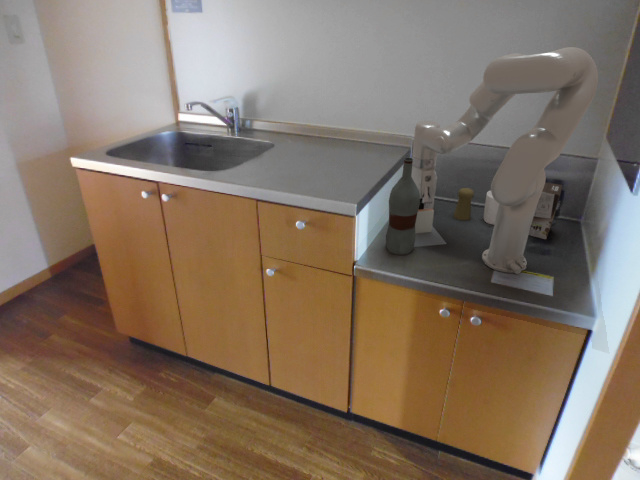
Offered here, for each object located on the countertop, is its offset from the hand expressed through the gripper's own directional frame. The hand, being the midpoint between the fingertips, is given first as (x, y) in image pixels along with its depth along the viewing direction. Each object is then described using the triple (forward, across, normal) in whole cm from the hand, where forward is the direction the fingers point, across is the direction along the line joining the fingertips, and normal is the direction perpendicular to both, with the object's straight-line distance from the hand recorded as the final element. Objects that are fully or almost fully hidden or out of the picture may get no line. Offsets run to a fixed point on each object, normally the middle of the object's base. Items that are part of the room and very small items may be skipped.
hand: (417, 212), depth 150 cm
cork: (+6, +4, -18) cm, 20 cm away
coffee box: (+6, -10, -40) cm, 41 cm away
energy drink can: (+6, +12, -7) cm, 15 cm away
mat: (+6, -6, 0) cm, 8 cm away
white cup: (+6, 0, -28) cm, 29 cm away
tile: (+5, -4, 0) cm, 6 cm away
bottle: (+6, -13, +10) cm, 17 cm away
